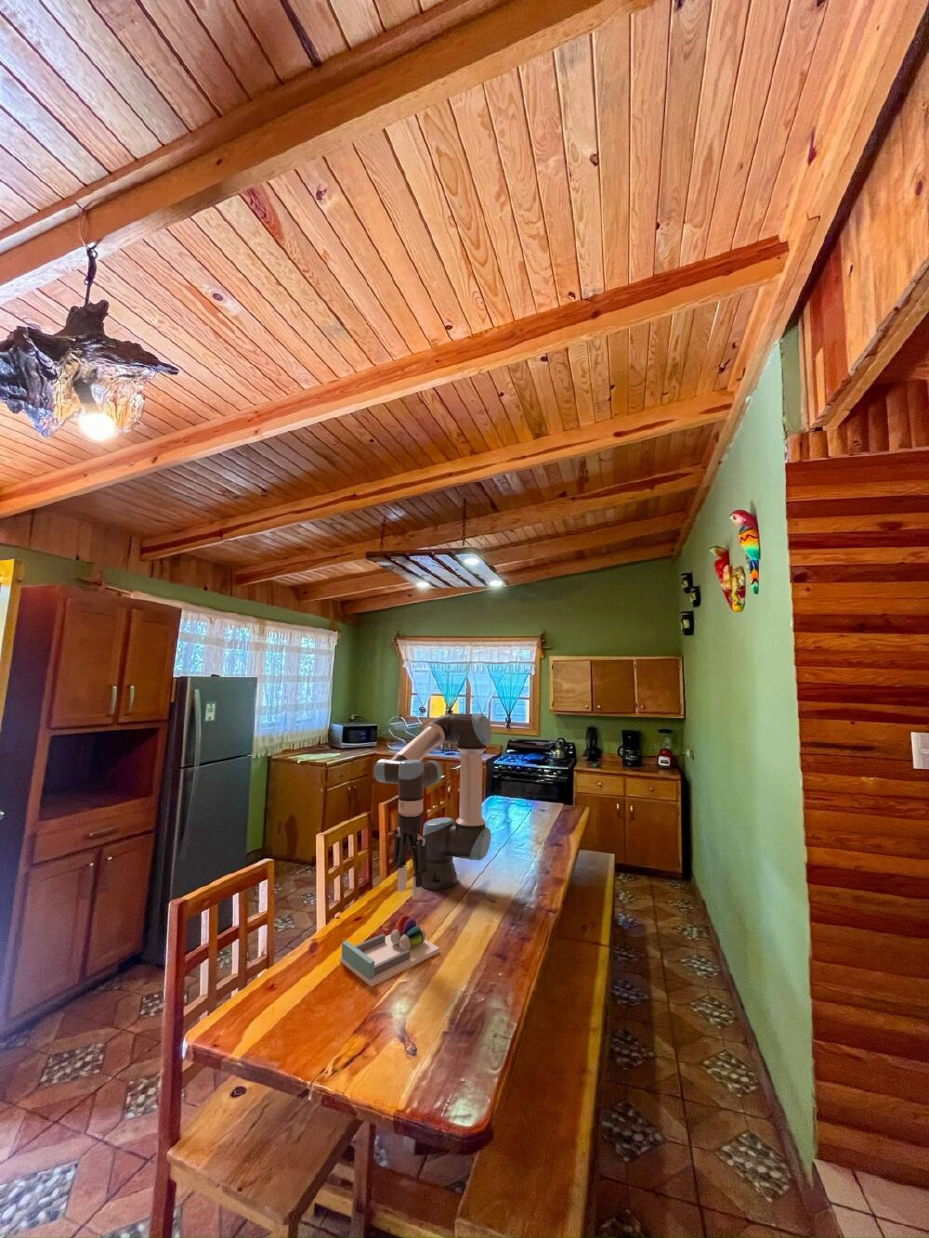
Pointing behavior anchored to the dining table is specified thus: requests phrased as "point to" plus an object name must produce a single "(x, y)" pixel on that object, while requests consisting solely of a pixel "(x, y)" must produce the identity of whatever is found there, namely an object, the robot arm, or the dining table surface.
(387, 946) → the board
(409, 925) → the multicolored rounded lobe cluster
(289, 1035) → the dining table surface
